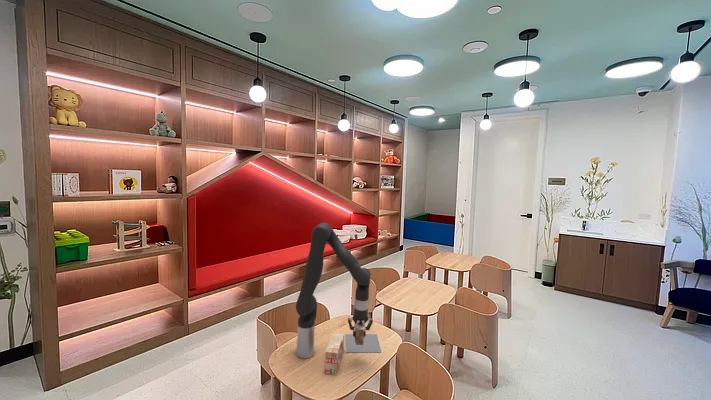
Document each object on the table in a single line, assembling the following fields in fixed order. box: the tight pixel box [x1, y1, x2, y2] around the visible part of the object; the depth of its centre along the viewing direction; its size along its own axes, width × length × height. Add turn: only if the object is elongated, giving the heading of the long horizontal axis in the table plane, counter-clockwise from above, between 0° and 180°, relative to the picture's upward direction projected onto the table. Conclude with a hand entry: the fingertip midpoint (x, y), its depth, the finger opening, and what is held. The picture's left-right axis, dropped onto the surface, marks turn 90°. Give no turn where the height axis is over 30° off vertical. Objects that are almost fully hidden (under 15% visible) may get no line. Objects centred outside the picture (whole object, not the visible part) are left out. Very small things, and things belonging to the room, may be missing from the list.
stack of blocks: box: [324, 333, 345, 376], centre depth 156 cm, size 21×6×12 cm, turn 173°
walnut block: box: [355, 324, 364, 345], centre depth 155 cm, size 4×7×10 cm, turn 5°
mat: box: [344, 333, 382, 354], centre depth 173 cm, size 20×18×1 cm
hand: (359, 336), depth 155 cm, fingers closed on walnut block, 4 cm apart
